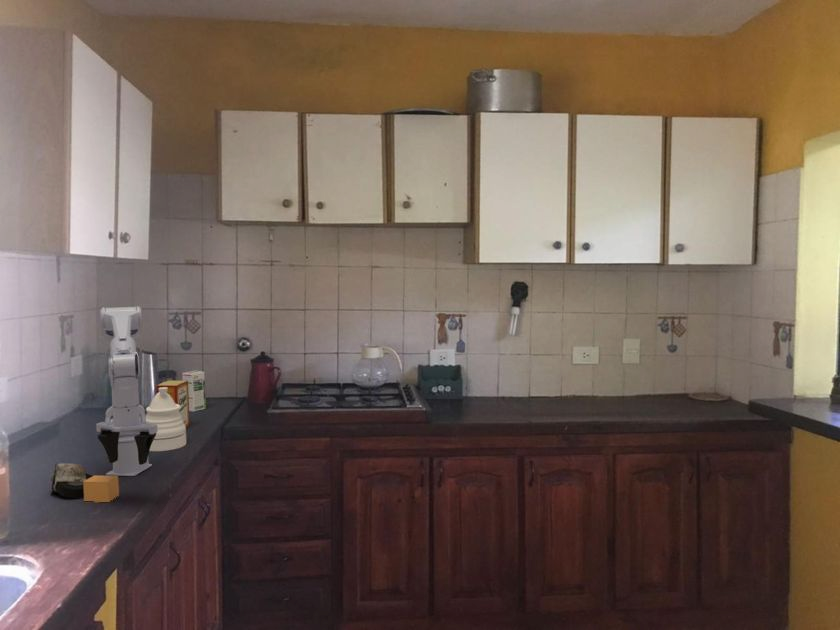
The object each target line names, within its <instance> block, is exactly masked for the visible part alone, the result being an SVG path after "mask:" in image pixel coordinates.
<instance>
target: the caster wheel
mask: <svg viewBox="0 0 840 630" xmlns="http://www.w3.org/2000/svg"><path fill="white" fill-rule="evenodd" d="M57 461H58V458H56V459H55V463H54V468H53V472H52V473H51V474H50V481H51V491H50V495H51V494H53V490H54V492H56V493H58V494H59V495H60V496H62V497H64V498H67V499H79V498H78V497H82V498H84V497H83V496H84V486H83V481H85V480H87V479H89V478H91V477H93V476H94V475H92V474H89V473H86V472H85V471H86V470H85V468H84V467H83V466H82V465H81V464H79V463H58V464H57Z"/></svg>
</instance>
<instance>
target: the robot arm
mask: <svg viewBox="0 0 840 630" xmlns="http://www.w3.org/2000/svg"><path fill="white" fill-rule="evenodd" d="M99 311H100V329H101V336H103V339H105V341H106V340H107V341H109V342H110V344H109V351H110V352H109V354H110V356H109V357H108V376H109V381H110V388H111V404H112V405H111V406H110V407H108V408H107V409H106V411H105V421H101V422H98V423H96V426H95V428H96V432H97V433H100V434H98V435H97V440H99V441H100V443H101V444H102V446H103V449H104V450H105V453H106V455H107V458H108V460H109V464H112V470H110V471H108V472H106V473H105V476H118V477H136V476H137V475H139V474H140V473H142V472H143V471H145V470H147V469H148V468H150V467H152V464H151V463H149V453H150V451H149V450H150V447H151V444H152V442H153V440H154V438H155V436H156V433H157V424H150V423H146V412H145V411H146V408H144V406H143V405H141V404H140V397H139V396H140V394H139V379H140V375H141V371H140V370H141V368H140V366H141V364H140V357H139V354H138V352H137V343H136V341H135V340H136V339H138V338H141V334H142V328H143V320H142V318H143V317H142V308H141V307H140V306H127V307H125V306H124V307H120V306H119V307H104V306H103V307H101V309H100V310H99ZM136 375H137V376H136Z"/></svg>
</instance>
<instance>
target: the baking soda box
mask: <svg viewBox="0 0 840 630" xmlns="http://www.w3.org/2000/svg"><path fill="white" fill-rule="evenodd" d="M162 387H167V388H168V390H167V393H168V394H169V395H170V396H171V397H172V399H173V400H174V402H175V404H178V405H180V406H181V409H180V410H179V413H180V415H181V416H182V420H183V423H184V425H185V427H186V429H188V427H190V423H191V422H190V411H189V395H188V380H183V379H181V380H178V379H177V380H173V379H172V380H167V381H163V382H161V383H159V384H157V385H156V394H157V393H159V389H158V388H162Z"/></svg>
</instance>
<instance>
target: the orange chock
mask: <svg viewBox="0 0 840 630" xmlns="http://www.w3.org/2000/svg"><path fill="white" fill-rule="evenodd" d="M92 476H93V477H91V478H89V479H87V480H85V481H83V486H84V497H83V502H84V501H94V502H93V503H99V502H109V503H110V501H111V500H112V501H114V500H115V499H117V498H118V497H120V486H119V476H107V475H92ZM117 496H118V497H117ZM116 497H117V498H116ZM114 498H115V499H114ZM113 499H114V500H113ZM112 501H111V502H112Z"/></svg>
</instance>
